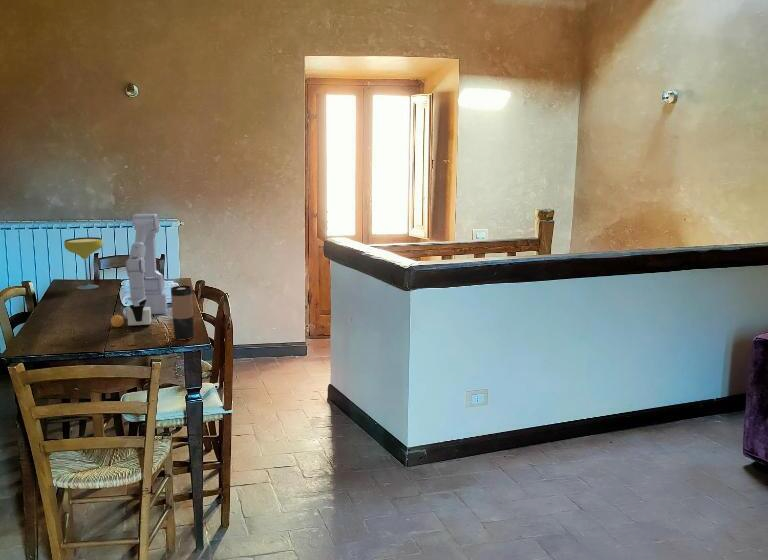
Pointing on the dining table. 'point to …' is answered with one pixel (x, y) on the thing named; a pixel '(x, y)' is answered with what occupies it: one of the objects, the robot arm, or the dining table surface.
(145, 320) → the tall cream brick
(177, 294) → the travel mug
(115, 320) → the ball
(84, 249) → the cocktail glass
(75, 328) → the dining table surface
